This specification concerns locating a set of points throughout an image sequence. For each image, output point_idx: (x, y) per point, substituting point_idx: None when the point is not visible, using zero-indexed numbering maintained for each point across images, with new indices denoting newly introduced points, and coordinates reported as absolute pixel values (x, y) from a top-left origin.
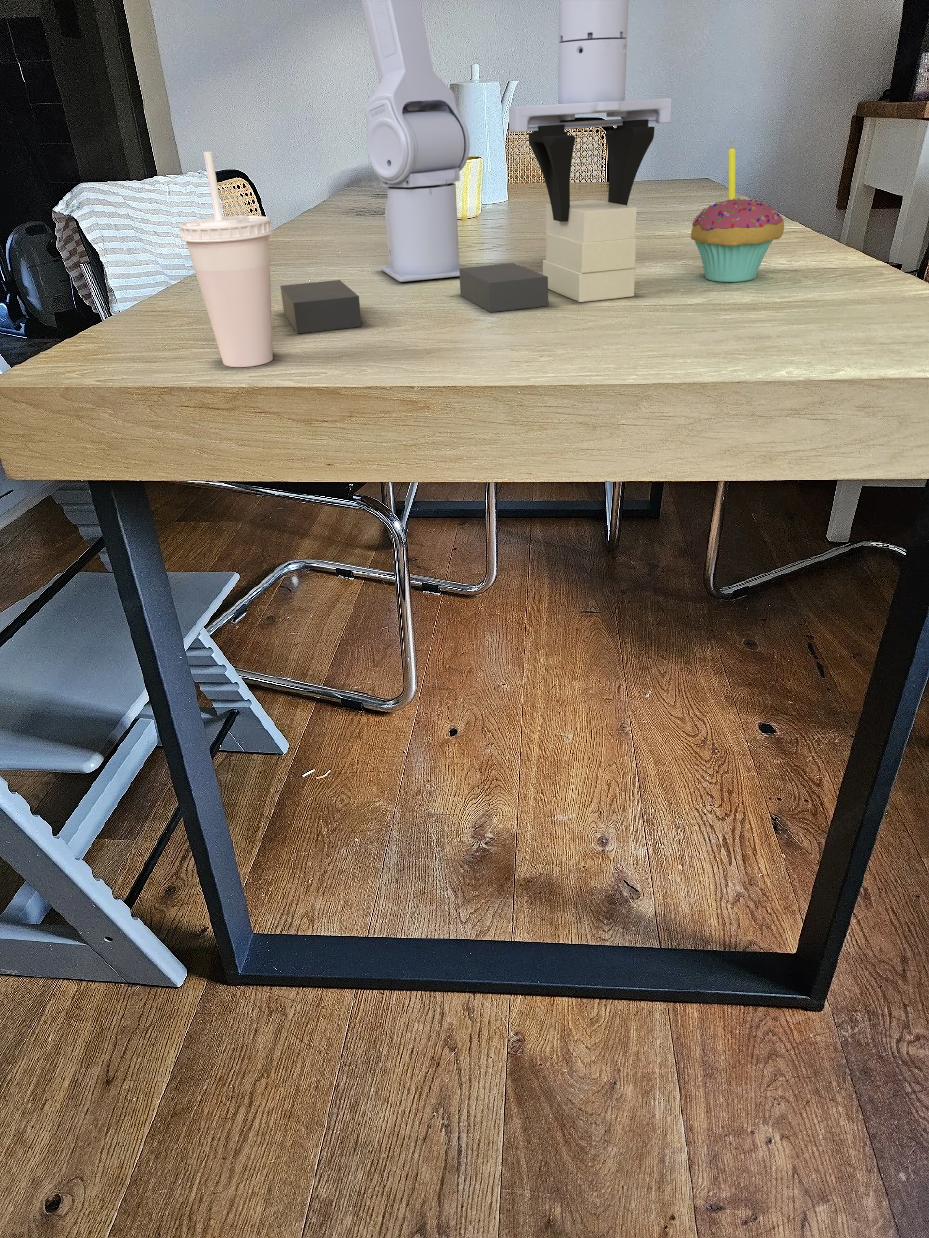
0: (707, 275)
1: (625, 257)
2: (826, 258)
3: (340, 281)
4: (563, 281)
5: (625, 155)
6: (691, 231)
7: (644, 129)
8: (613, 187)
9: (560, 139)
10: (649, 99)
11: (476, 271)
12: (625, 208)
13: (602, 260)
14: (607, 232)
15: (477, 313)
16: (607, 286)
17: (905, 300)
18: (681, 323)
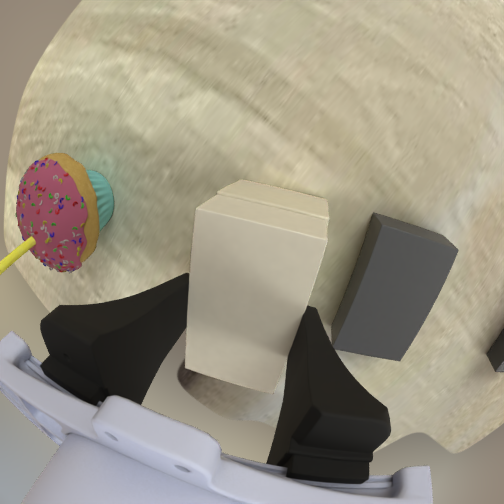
0: (111, 206)
1: (246, 189)
2: (16, 222)
3: (501, 364)
4: None
5: (136, 331)
6: (90, 250)
7: (64, 324)
8: (173, 329)
9: (364, 414)
10: (10, 387)
11: (408, 331)
12: (222, 214)
13: (290, 199)
14: (274, 211)
15: None
16: (281, 191)
17: (70, 23)
18: (299, 12)
